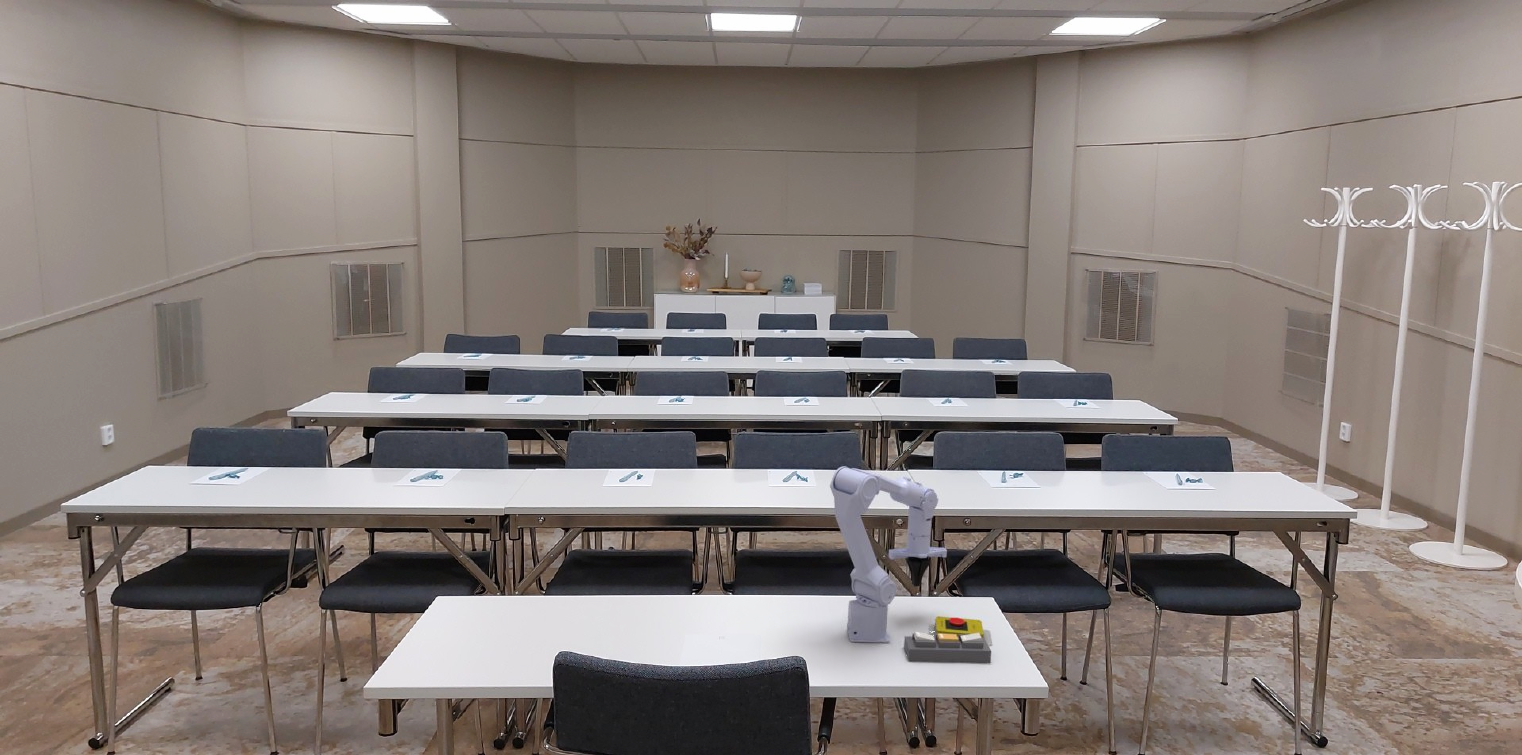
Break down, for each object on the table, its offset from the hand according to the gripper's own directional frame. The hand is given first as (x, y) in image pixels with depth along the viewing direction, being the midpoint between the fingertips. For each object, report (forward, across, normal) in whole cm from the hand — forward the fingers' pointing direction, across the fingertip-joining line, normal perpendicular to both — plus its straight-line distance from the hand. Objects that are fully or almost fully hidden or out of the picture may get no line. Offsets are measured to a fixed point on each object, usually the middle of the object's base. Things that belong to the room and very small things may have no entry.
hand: (915, 584), depth 267 cm
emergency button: (+10, +8, -10) cm, 17 cm away
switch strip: (+9, +1, -20) cm, 23 cm away
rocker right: (+5, +6, -21) cm, 23 cm away
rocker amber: (+5, +1, -20) cm, 21 cm away
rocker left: (+5, -4, -20) cm, 21 cm away
